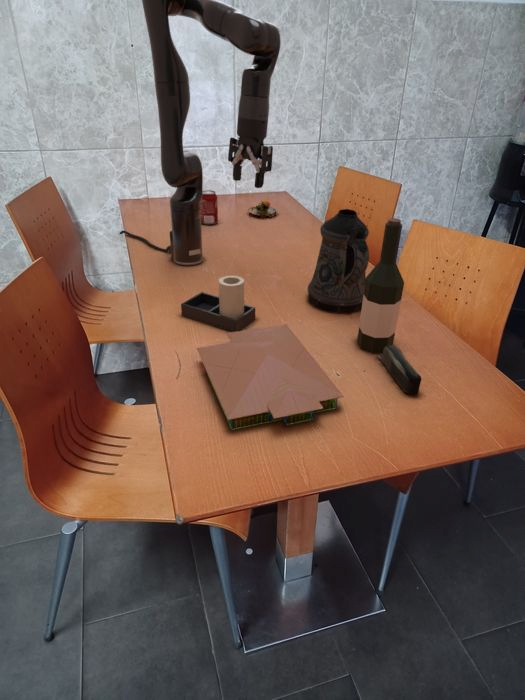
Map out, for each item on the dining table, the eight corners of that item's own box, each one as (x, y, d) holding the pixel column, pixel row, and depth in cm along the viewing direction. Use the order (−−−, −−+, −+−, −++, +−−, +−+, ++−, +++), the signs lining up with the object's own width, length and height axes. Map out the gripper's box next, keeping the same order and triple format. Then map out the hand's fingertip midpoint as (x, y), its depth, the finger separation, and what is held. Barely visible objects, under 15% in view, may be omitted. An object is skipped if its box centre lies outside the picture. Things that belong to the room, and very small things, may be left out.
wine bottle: (371, 357, 114) (392, 228, 98) (349, 340, 120) (366, 216, 105) (399, 349, 117) (424, 223, 102) (377, 333, 124) (396, 212, 108)
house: (232, 443, 88) (232, 406, 84) (192, 350, 115) (190, 319, 111) (348, 418, 95) (353, 383, 91) (285, 336, 121) (287, 305, 117)
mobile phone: (425, 376, 99) (390, 337, 111) (411, 378, 99) (378, 339, 111) (420, 396, 102) (386, 356, 114) (406, 398, 101) (374, 357, 113)
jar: (215, 320, 126) (213, 281, 120) (228, 311, 130) (228, 273, 125) (235, 326, 123) (234, 287, 118) (248, 317, 128) (248, 279, 122)
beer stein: (332, 283, 149) (340, 198, 136) (387, 304, 137) (402, 214, 124) (294, 299, 139) (300, 209, 126) (351, 324, 127) (363, 228, 114)
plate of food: (250, 209, 214) (250, 191, 210) (277, 211, 212) (278, 193, 208) (245, 217, 203) (245, 199, 199) (274, 219, 202) (275, 200, 198)
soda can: (215, 226, 193) (214, 194, 187) (198, 224, 194) (197, 193, 188) (219, 221, 199) (219, 190, 192) (203, 219, 200) (202, 189, 193)
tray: (181, 315, 129) (180, 303, 128) (202, 303, 136) (201, 291, 134) (236, 333, 122) (236, 321, 120) (255, 319, 128) (255, 307, 127)
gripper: (223, 112, 125) (219, 179, 133) (261, 120, 117) (255, 191, 125) (245, 113, 130) (240, 177, 138) (284, 120, 121) (276, 189, 129)
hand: (247, 183), depth 131 cm, fingers open, 8 cm apart
